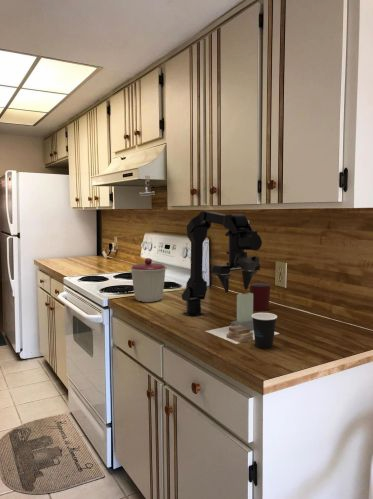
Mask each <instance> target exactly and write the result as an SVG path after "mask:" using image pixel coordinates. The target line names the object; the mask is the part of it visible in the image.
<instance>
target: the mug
mask: <svg viewBox="0 0 373 499" xmlns="http://www.w3.org/2000/svg"><path fill="white" fill-rule="evenodd" d="M249 293H253V311H256V312H257V311H258V312H260V311H261V312H265V311H268V310H269V307H270V295H271V284H269V283H262V282H254V283H253V282H252V283H249Z"/></svg>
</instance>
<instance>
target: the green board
mask: <svg viewBox="0 0 373 499" xmlns="http://www.w3.org/2000/svg"><path fill="white" fill-rule="evenodd" d="M252 314H254V310H253V293H250V292H245V293H239V294H236V321H237V323H240V324H241V323H246V322H251V321H253V317H252Z"/></svg>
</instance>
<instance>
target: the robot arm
mask: <svg viewBox="0 0 373 499" xmlns="http://www.w3.org/2000/svg"><path fill="white" fill-rule="evenodd" d="M212 223H213V224H217V225H222V226H223V228H224V229H226V230H227V232H225V234H224V236H225V237H228V251H226V255H228V262H226V264H213V266H212V268H211V273H212V274H214V275H215V276H217V278H218V279H219V281H220V284H221V285H222V287H223V289H224V291H225V293H227V294H228V293H229V289H230V288H229V284H230V283H229V282H230V281H229V279H230V277H231V276H232V274H230V272H232V271H241V275H242V282H243V287H244V290H246V291H247V290H248V288H249V287H250V284H251V280H252V278H253V276H254V275H255V274H256V273H258V272H259V271H260V270H261V265H260V258H259V256H257V255H254V256H252V257H249V256H248V252H247V251H255V252H257V251H259V250H260V249H261V247H262V244H263V240H262V238H261V236H260V235H259V234H258V230H253V228H252V226H251V225H250V223H249V220H248V219H247V215H245V214H225V213H220V212H215V211H212V210H202V211H200V212H199V213H198V214H197V215H196V216H194V217H193V218H192V219H191V220H190V221H189V222H188V224H187V225H186V234H187V235H186V236H187V238H188V240H189V241H190V274H189V275H190V276H189V277H188V279H187V282H186V286H185V290H183V293H182V294H181V299H182V301H183V302H186V310H185V311H183V314H185V315H186V316H190V317H196V316H200V315H204V314H205V313H204V312H203V311H202V304H201V301H202V300H205V299H206V294H207V291H208V287H207V286H208V282H207V281H206V280H205V279H204V277H203V259H204V258H203V256H204V255H203V253H204V242H205V240H206V238H207V235H208V230H209V229H210V228H211V227H212ZM245 250H246V251H245Z"/></svg>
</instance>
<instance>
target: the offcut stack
mask: <svg viewBox="0 0 373 499" xmlns="http://www.w3.org/2000/svg"><path fill="white" fill-rule="evenodd" d="M230 326H231V325H230ZM227 338H229V339H232V340H234V341H237V342H239V343H238V344H241V343H246V341H247V342H251V341H254V340H253V332H250V329H248V328H246V327H243V326H241V325H237V326H231V327H229V334H227ZM250 340H251V341H250Z"/></svg>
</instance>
